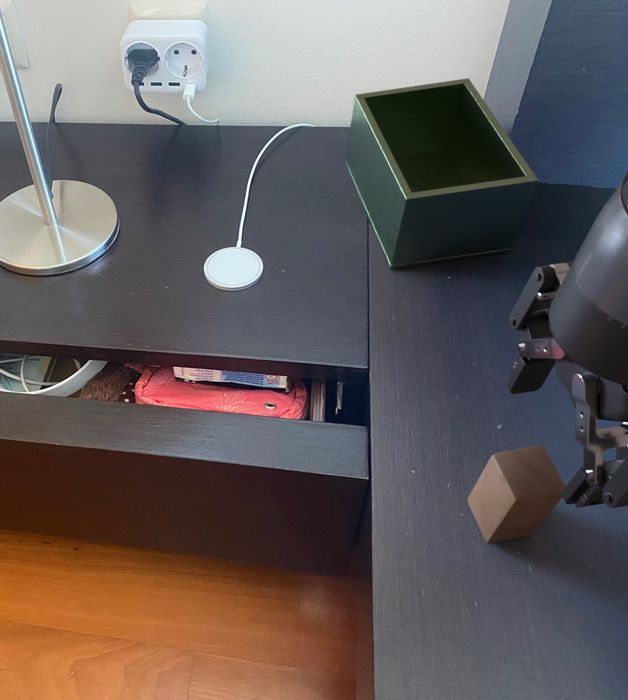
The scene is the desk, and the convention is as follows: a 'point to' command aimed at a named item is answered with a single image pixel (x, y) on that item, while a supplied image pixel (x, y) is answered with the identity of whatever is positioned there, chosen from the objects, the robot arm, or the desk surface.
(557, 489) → the wooden block
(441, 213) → the waste bin
